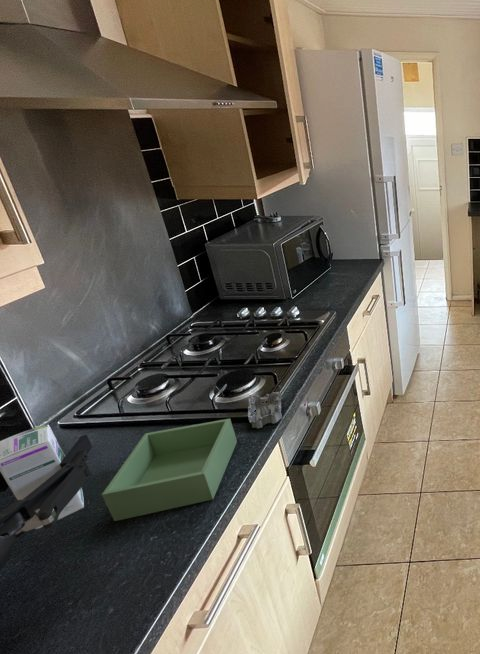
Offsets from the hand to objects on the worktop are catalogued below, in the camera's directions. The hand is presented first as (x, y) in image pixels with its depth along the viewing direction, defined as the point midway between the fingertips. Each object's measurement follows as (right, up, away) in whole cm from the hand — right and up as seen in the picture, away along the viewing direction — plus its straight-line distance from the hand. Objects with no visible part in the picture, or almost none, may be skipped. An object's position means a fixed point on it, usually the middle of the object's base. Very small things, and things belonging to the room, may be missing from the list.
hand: (56, 448), depth 70 cm
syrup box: (+2, -10, -1) cm, 10 cm away
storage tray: (+6, -15, +20) cm, 25 cm away
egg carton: (+13, -8, +39) cm, 42 cm away
